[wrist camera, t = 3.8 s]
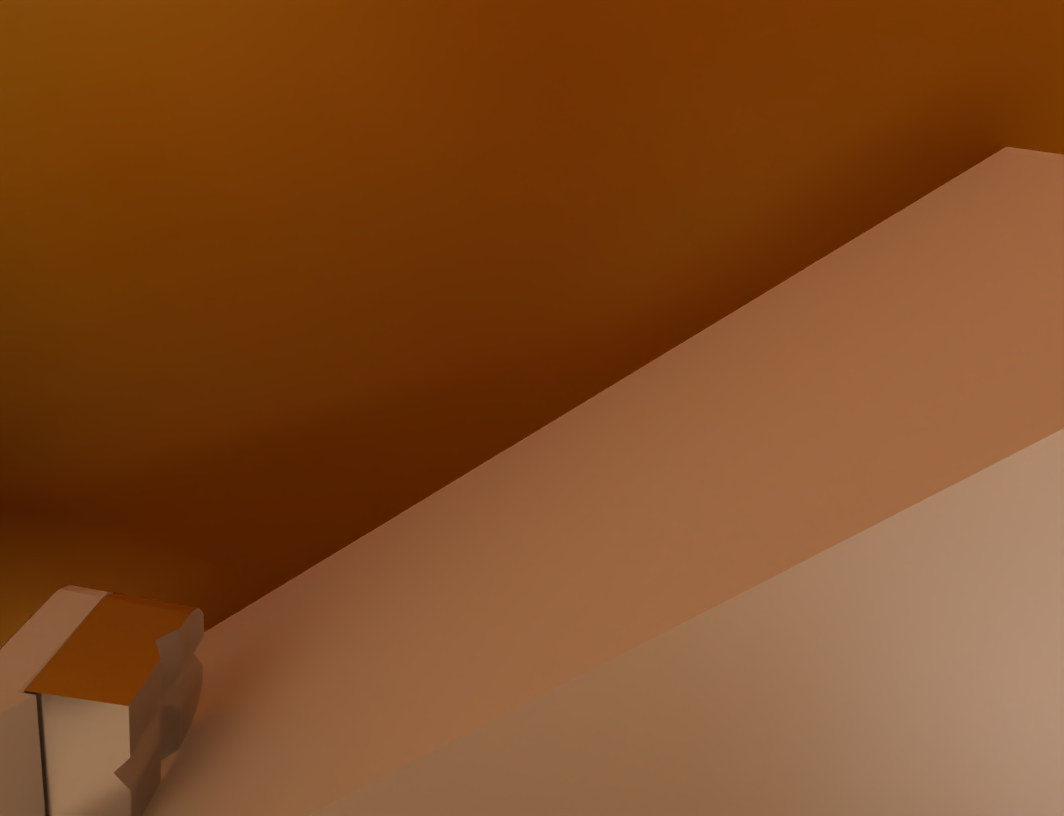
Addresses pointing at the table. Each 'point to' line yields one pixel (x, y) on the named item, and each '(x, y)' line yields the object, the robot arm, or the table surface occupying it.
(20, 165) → the table surface
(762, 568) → the clay strip
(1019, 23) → the table surface
